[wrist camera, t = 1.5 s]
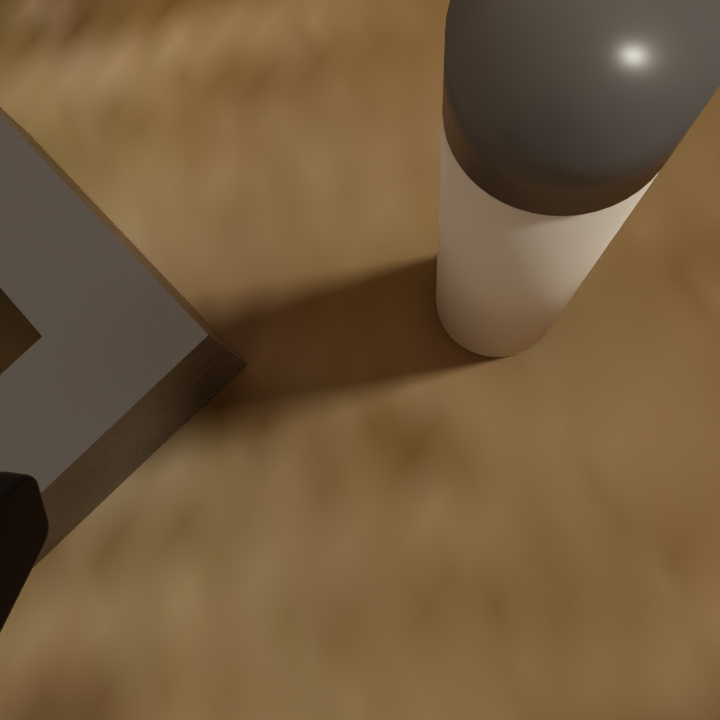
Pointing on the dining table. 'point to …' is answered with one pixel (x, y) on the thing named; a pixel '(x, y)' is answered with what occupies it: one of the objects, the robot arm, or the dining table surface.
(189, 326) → the gray rectangular frame
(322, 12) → the dining table surface
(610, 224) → the plug
